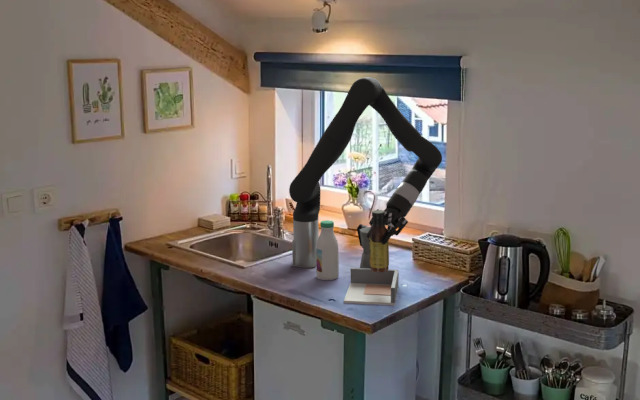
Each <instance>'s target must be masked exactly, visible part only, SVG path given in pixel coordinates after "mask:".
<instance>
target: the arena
mask: <svg viewBox="0 0 640 400" xmlns="http://www.w3.org/2000/svg"><path fill="white" fill-rule="evenodd" d="M399 272H400V271H399V269H392V268H389V269H388V270H387V271H385V272H374V271H372V270H371V269H370V268H360V267H350V282H349V286H348V287H347V288H348V289H347V291H346V295H345V297H344V299H343V304H355V305H357V304H358V305H359V304H360V305H373V306H374V305H376V306H378V305H379V306H395V305H396V302H397V301H396V299H397V295H398V290H399V280H400V278H399V275H400V273H399Z"/></svg>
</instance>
